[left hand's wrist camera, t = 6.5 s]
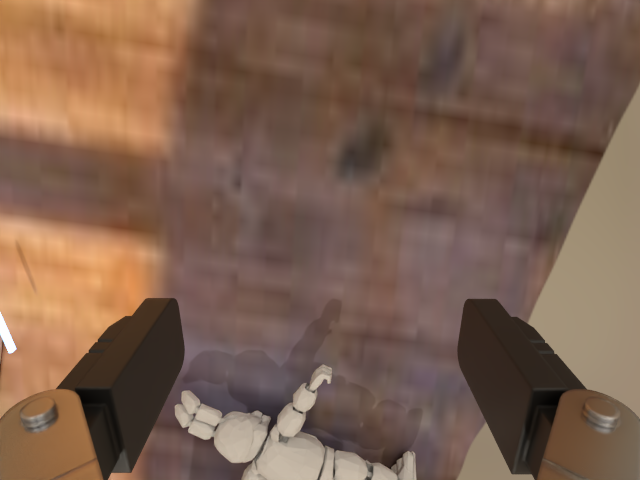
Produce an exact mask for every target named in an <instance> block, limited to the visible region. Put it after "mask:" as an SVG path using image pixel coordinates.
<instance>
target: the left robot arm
mask: <svg viewBox="0 0 640 480" xmlns="http://www.w3.org/2000/svg"><path fill="white" fill-rule="evenodd" d="M184 350H185V349H184V340H183V333H182V326H181V319H180V313H179V306H178V303H177V300H176V299H174V298H147V299H145V300H144V301H143V303H142V304H141V305H140V306H139V308H138V309H137V310H136V311H135V313H134V314H133V315H132V316H125V317H124V318H122V319H120V320H119V321H117V322H116V323H114V324H113V325H111V326H110V327H108V328H107V330H106V331H105V332H104V333H103V334H102V336H101V337H100V338H99V339H98V342H96V343H95V344H94V345H93V346H92V347H91V348H90V350H89V353H86V354H85V355H84V357H83V358H82V359H81V360H80V361H79V362H78V364H77V365H76V366H75V367H74V368H73V369H72V371H71V372H70V373H69V374H68V375H67V376H66V378H65V379H64V380H63V381H62V382H61V384H60V385H59V386H58V387H57V388H56V389H54V390H48V391H44V392H41V393H38V394H35V395H32V396H30V397H28V398H26V399H24V400H22V401H21V402H19V403H17V404H16V405H14V406H13V407H12V408H10V409H9V410H8V411H7V412H6V413H5V414H4V415H3V416H2V417H1V419H0V480H108V478H109V476H110V474H111V473H131V472H132V470H133V468H134V466H135V464H136V462H137V460H138V457H139V455H140V453H141V451H142V449H143V447H144V445H145V443H146V441H147V439H148V437H149V435H150V432H151V430H152V428H153V426H154V424H155V422H156V420H157V418H158V416H159V414H160V412H161V410H162V408H163V405H164V403H165V401H166V399H167V397H168V395H169V393H170V391H171V389H172V387H173V385H174V383H175V380H176V378H177V376H178V374H179V372H180V370H181V368H182V365H183V360H184ZM458 361H459V365H460V368H461V371H462V373H463V375H464V377H465V379H466V381H467V383H468V385H469V387H470V389H471V391H472V393H473V395H474V397H475V399H476V401H477V404H478V406H479V408H480V410H481V412H482V414H483V416H484V418H485V420H486V422H487V424H488V426H489V428H490V430H491V432H492V434H493V436H494V438H495V441H496V443H497V445H498V447H499V449H500V451H501V453H502V455H503V457H504V459H505V461H506V463H507V465H508V467H509V469H510V471H511V473H512V474H532V475H533V477H534V479H535V480H640V419H639V417H638V416H637V415H636V414H635V413H634V412H633V411H632V410H631V409H630V408H628V407H627V406H625V405H624V404H623V403H621V402H619V401H618V400H616V399H614V398H612V397H610V396H608V395H605V394H602V393H599V392H596V391H592V390H587V389H586V388H585V387H584V385H583V384H582V383H581V382H580V381H579V380H578V378H577V377H576V376H575V375H574V374H573V373H572V372H571V370H570V369H569V368H568V367H567V366H566V365H565V363H564V362H563V361H562V360H561V359H560V358H559V356H558V355H557V354H554V351H553V349H552V348H551V347H550V346H549V345H548V344H547V343H545V340H544V339H543V338H542V337H541V336H540V334H539V333H538V332H537V331H536V330H535V329H534V328H533V327H532V326H530V325H529V324H527V323H526V322H524V321H522V320H521V319H519V318H518V317H511V316H510V315H509V314H508V313H507V311H506V310H505V309H504V308H503V306H502V305H501V304H500V303H499V302H498V301H497V300H496V299H467V300H466V301H465V304H464V308H463V314H462V321H461V328H460V334H459V341H458Z"/></svg>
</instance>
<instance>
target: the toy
mask: <svg viewBox="0 0 640 480" xmlns="http://www.w3.org/2000/svg"><path fill="white" fill-rule="evenodd" d="M331 375H332V368H330V367H328V366H326V365H324V364H323V365H321V366H320V367H319V368H317V369H316V370H315V371H314V373H313V374H312V378H311V381H310V384H308V383H303V384H302V385H301V386H300V387H299V388H298V389H297V391H296V392H295V393H294V394H293V403H289V404H287V405H286V406H285V407H284V409H283V410H282V411H281V412H280V414H279V415H278V418H277V424H275V425H274V427H273V428H272V430H271V431H270V433H269V434H270V435H269V436H268V438H267V440H266V441H265V439H266V436H267V433H268V425H269V423H270V420H271V418H270V416H266V415H263V416H262V413H261V412H260V411H254V412H252V413H251V414H250V413H247V414H246V413H242V412H234V411H232V412H230V413H228V414H227V415H225V416H224V417H223V418H221V417H222V413H221V412H220V411H219V410H216V409H214V408H212V407H209V406H207V405H204V404H200V400H199V399H198V398H197V397H196V396H195V395H194V394H193V393H192V392H191V391H190V390H188V391H183V392H182V400H181V401H182V403H183V404H177V405H176V406H175V416H176V417H177V419H178V421H179V422H180V424H181V426H182V427H183V428H184V427H188V426H189V429H188V432H189V433H191V434H193V435H195V436H197V437H200V438H202V439H204V440H206V439H210V438H211V436H212V437H214V445H215V447H216V448H217V450H218V451H219V452H220V453H221V454H222V455H223V456H224V457H225V458H227V459H228V460H229V461H230V462H231V463H241V462H244V463H245V462H248V461H251V460H252V459H253V458H254V457H255V458H254V460H253V462H252V463H251V464H249V465H248V467H247V468H246V469H245V470H244V473H243V477H242V480H416V466H415V453H414V452H413V451H412V452H409V451H407V452H405V453H404V454H403V457H402V458H400V459H398V460H397V463H396V464H395V465H393V466H392V467H391V469H389V468H387V467H386V466H384V465H382V464H381V463H370V462H369V461H367V460H366V461H365V460H363V459H362V458H361V457H359V456H358V455H357V454H355V453H352V452H345V451H339V450H337V451H335V452H334V449H333V448H330V447H328V446H326V445H325V447H324V446H323V445H322V443H321V442H320V441H319V440H318V439H317V438H316V437H315V436H312V435H310V434H307V433H304V432H301V431H300V430H301V428H302V425H303V423H304V421H305V417H306V411H307V410H309V409H311V407H312V406H313V405H314V404H315V400H316V397H317V394H318V393H317V390H316V389H317V388H318V386H319V385H321V383H322V382H323V380H324V379H326V380H327V384H328V383H331V377H332V376H331ZM200 405H201V406H200ZM199 407H200V408H199ZM194 413H195V414H196V413H197V414H196V416H195V418H194V417H193V414H194ZM193 419H194V420H193ZM192 420H193V422H192ZM218 423H219V425H218V427H217V429H216V431H214V429H215V426H216V425H217V424H218ZM264 441H265V442H264ZM261 448H262V449H261ZM257 454H258V455H257Z"/></svg>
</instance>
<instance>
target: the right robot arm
mask: <svg viewBox="0 0 640 480" xmlns="http://www.w3.org/2000/svg"><path fill="white" fill-rule="evenodd" d="M3 341H4V343H5V345H6V347H7V349H8V352H9V353H12V352H13V351H14V350H16V347H15V345H14V343H13V340H12V338H11V336H10V334H9V331H8V329H7V327H6V325H5V322H4V320H3V318H2V315H1V313H0V362H1V352H2V342H3Z"/></svg>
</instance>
